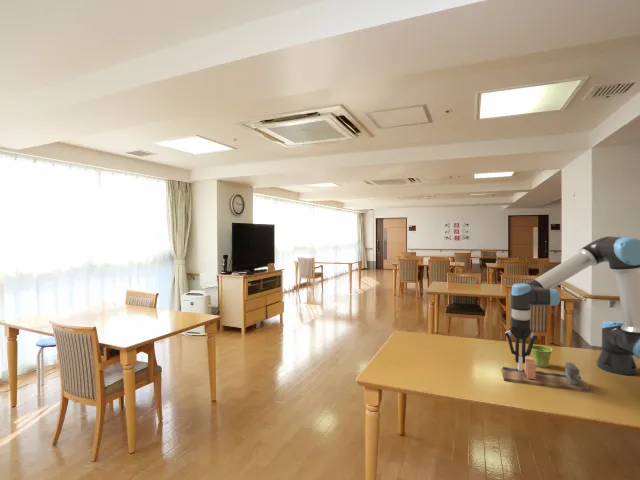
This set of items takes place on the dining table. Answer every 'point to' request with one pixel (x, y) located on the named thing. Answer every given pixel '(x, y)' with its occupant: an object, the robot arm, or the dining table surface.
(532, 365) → the sliding point
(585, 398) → the dining table surface
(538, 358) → the plant pot
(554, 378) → the board
